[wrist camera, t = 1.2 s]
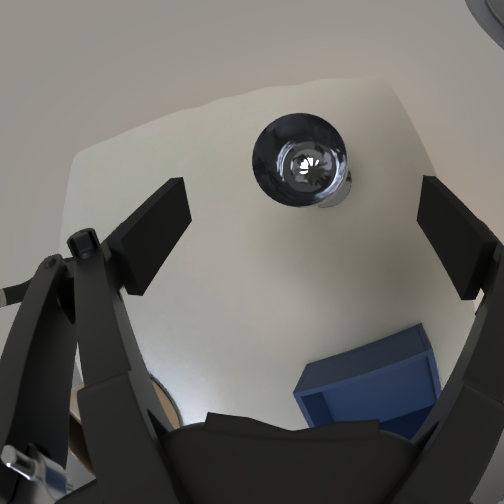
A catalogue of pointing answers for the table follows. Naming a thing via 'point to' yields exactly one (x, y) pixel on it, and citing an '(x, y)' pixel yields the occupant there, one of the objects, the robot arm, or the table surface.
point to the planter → (76, 431)
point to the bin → (374, 384)
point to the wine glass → (302, 162)
